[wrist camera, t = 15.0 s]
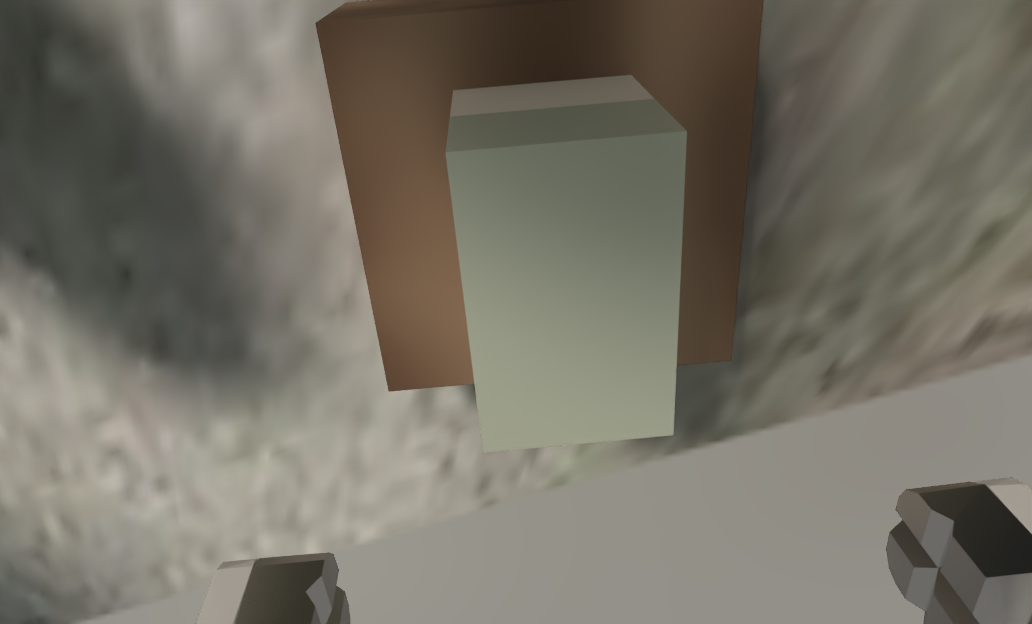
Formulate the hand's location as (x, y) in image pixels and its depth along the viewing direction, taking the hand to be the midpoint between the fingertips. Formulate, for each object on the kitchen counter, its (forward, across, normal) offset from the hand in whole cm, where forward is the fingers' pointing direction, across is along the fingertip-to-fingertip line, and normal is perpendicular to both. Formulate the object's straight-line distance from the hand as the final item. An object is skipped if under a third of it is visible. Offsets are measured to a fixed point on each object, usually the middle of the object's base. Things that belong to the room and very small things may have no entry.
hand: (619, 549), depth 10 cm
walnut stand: (+18, -1, 0) cm, 18 cm away
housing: (+13, 0, 0) cm, 13 cm away
